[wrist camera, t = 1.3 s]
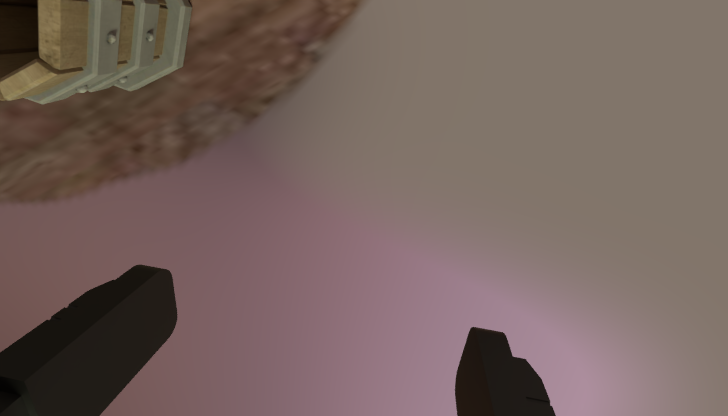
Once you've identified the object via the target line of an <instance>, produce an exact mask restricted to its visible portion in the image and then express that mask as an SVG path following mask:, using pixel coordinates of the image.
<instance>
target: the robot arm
mask: <svg viewBox="0 0 728 416" xmlns="http://www.w3.org/2000/svg"><path fill="white" fill-rule="evenodd" d="M176 322H177V308H176V301H175V294H174V287H173V279H172V275H171V273H170V271H169V270H167V269H161V268H155V267H150V266H145V265H136V266H134V267H132V268H131V269H130V270H128V271H127V272H125V273H124V274H123V275H121V276H120V277H119V278H117V279H116V280H112V281H109V282H107V283H105V284H103V285H100V286H98V287H95V288H93V289H91V290H89V291H87V292H86V293H84V294H83V295H81V296H80V297H79V298H77V299H76V300H74V301H73V302H72V303H70V304H69V306H68V307H67V308H63V309H62V310H60V311H59V312H57V313H56V314H54V315H53V316H52V317H51V319H50V320H46V321H45V322H43V323H42V324H40V325H39V326H37V327H36V328H35V329H33V330H32V331H30V332H29V333H27V334H26V335H25V336H23V337H22V338H20V339H19V340H17V341H16V342H15V343H13V344H12V345H10V346H9V347H8V348H6V349H5V350H4V351H2V352H0V416H100V414H101V413H102V412H103V411H104V410H105V409H106V408H107V407H108V405H109V404H110V403H111V402H112V401H113V400H114V399H115V398H116V396H117V395H118V394H119V393H120V392H121V391H122V390H123V389H124V388H125V386H126V385H127V384H128V383H129V382H130V381H131V380H132V378H134V376H135V375H136V374H137V373H138V372H139V371H140V370H141V369H142V367H143V366H144V365H145V364H146V363H147V362H148V361H149V360H150V358H151V357H152V356H153V355H154V354H155V353H156V351H158V349H159V348H160V347H161V346H162V345H163V344H164V343H165V342H166V341H167V339H168V338H169V337H170V336H171V334H172V332H173V330H174V328H175V325H176ZM455 396H456V407H457V415H458V416H556V415H555V413H554V410H553V408H552V406H550V400H549V397H548V395H547V392H546V389H545V387H544V384H543V382H542V379H541V378H540V377H539V376H538V374H537V373H536V372H535V371H534V369H533V368H532V367H531V366H530V364H529V363H528V362H527V361H526V359H522V358H517V357H513V356H512V353H511V350H510V347H509V344H508V340H507V338H506V335H505V334H504V333H503V332H498V331H492V330H487V329H481V328H476V327H472V328H471V329H470V331H469V334H468V337H467V341H466V344H465V347H464V350H463V354H462V357H461V360H460V364H459V367H458V370H457V375H456V384H455Z"/></svg>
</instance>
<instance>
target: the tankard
mask: <svg viewBox="0 0 728 416" xmlns="http://www.w3.org/2000/svg"><path fill="white" fill-rule="evenodd" d="M191 11H192V6H191V5H190V3H189V1H188V0H0V100H2V101H4V100H8V101H10V100H15V99H19V98H26V99H29V100H32V101H35V102H37V103H40V104H46V103H50V102H54V101H58V100H62V99H66V98H67V97H69V96H71V95H73V94H75V93H77V92H80V93H84V92H86V91H90V92H94V91H98V90H102V89H106V88H109V87H111V86H113V85H114V86H117V87H120V88H122V89H125V90H128V91H133V90H136V89H139V88H141V87H143V86H145V85H147V84H149V83H151V82H153V81H155V80H157V79H159V78H161V77H163V76H165V75H167V74H169V73H171V72H173V71H175V70H177V69H179V68H181V67H183V62H184V56H185V49H186V43H187V36H188V30H189V23H190V17H191Z"/></svg>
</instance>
